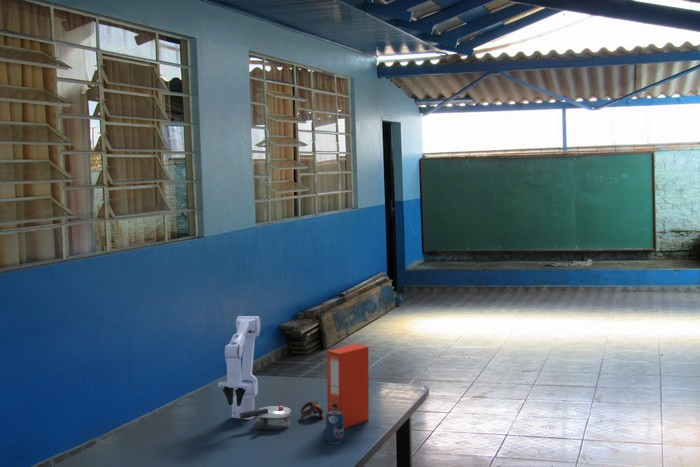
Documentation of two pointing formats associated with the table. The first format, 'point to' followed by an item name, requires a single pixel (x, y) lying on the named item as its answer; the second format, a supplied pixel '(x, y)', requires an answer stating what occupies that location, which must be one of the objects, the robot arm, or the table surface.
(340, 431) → the soda can
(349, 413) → the file binder
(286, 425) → the cooker pot
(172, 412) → the table surface
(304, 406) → the pottery mug
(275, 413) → the cooker lid
